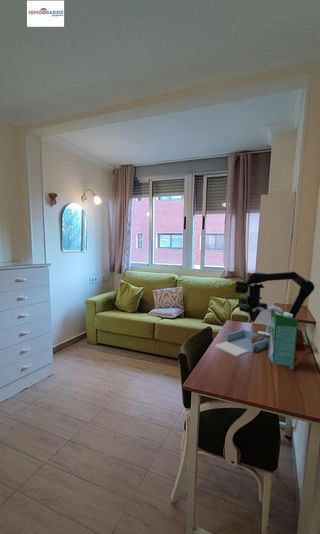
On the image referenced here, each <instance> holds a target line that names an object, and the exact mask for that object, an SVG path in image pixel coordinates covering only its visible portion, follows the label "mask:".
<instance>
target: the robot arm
mask: <svg viewBox="0 0 320 534" xmlns="http://www.w3.org/2000/svg"><path fill="white" fill-rule="evenodd" d="M284 280H285V281H288V280H292V281H293V282H294V283H296V284H297V285H298V286H300V287H299V290H298V294H297V296H296V298H295V300H294V302H293V303H292V305H291V307H290V309H289V311H288V313H290V314H293V317H294V318H295V319H296V317H297V315H298V314H299V312H300V310H301V308H302V306H303V305H304V303H305V301H306V299H307V298H308V297H309V296H310V295H311V294H312V293H313V292H314V290H315V284H314V283H313V281H311V280H309V279H306V278H304V277H302V276H301V275H300V274H298V273H297V272H296V271H289V272H286V271H285V272H274V273H271V272H270V273H265V272H253V273H251V275H250V276H249V280H247V281H246V282H245V281H236V285H235V287H234V288H235V289H234V292H235V293H236V294H241V295H246V294H248V295H247V297H246V298H243V297H239V298H238V302H237V303H239V304H240V306H239V309H238V310H239V311H240V312H243V313H246V314H248V315H249V317H250V320H251V323H255V321H256V320H257V319H258V318H257V316H258V315H259V313H260V312H261V311H262V310H259V308H260V307H262V308H264V309H267V308H268V306H269V305H268V304H267V303H265V302H262V301H260V300H262V297H261V289H264V288H265V285H263V283H264V282H269V281H270V282H271V281H284Z"/></svg>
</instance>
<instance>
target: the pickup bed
mask: <svg viewBox="0 0 320 534" xmlns="http://www.w3.org/2000/svg"><path fill="white" fill-rule="evenodd" d="M253 336H259V337H262V338H263V340H262V341H259V342H256V343H254V344H251V337H253ZM269 339H270V337H266V336H265V335H262V334H259V333H256V332H252V331H249V330H246V329H240V330H237V331H232V332H230V333H226V334H225V340H224V342H226V341H227V342H229V343H231V344H234V345H236V346H238V347H241V348H243V349H246V350H248V353H249V352H250V353H251V354H253V353H254V354H257V353H259V352H260V351H261V350H263V349H269Z"/></svg>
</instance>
